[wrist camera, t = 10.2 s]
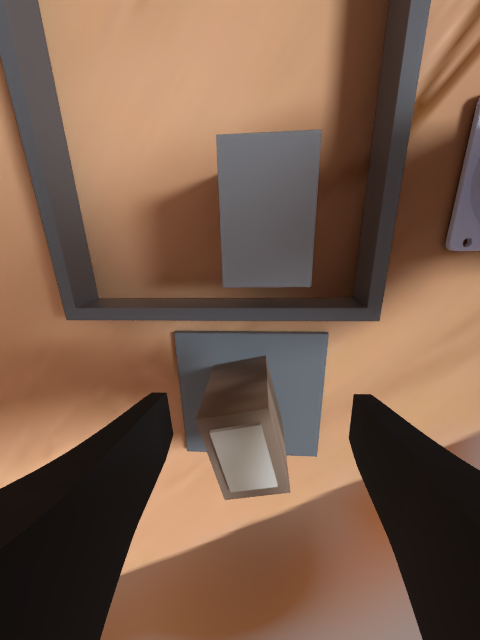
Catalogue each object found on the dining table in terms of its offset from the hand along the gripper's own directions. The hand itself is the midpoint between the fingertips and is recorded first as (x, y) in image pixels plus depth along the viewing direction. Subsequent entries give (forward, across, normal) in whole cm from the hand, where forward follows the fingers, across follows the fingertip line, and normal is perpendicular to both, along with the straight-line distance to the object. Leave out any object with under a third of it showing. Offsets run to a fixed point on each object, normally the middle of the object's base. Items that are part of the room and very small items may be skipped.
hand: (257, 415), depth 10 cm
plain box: (+9, 0, -7) cm, 12 cm away
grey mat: (+9, +1, +6) cm, 11 cm away
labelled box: (+9, +1, +5) cm, 10 cm away
